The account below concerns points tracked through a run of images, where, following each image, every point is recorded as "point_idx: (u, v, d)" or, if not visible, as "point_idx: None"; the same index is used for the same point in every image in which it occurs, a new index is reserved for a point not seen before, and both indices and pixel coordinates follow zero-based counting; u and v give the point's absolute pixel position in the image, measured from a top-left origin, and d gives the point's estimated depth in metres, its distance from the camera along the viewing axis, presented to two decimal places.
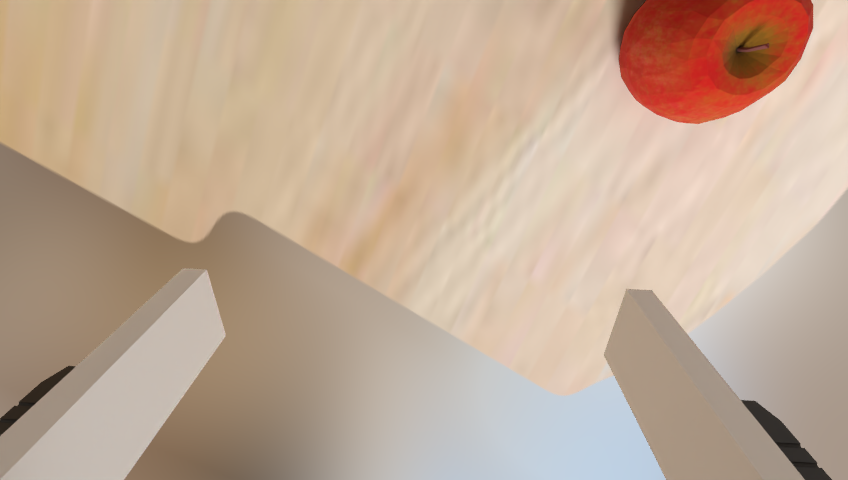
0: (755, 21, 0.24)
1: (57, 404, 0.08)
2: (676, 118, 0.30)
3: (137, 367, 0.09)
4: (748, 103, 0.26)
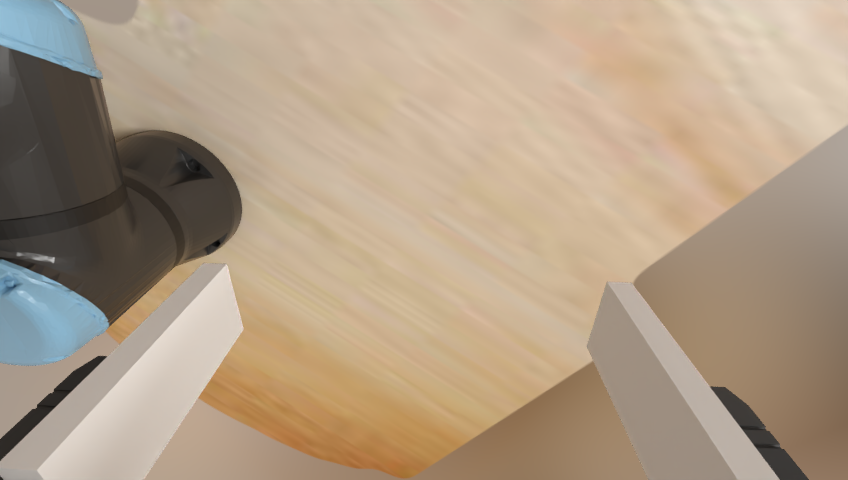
0: None
1: (94, 390, 0.08)
2: None
3: (164, 357, 0.09)
4: None
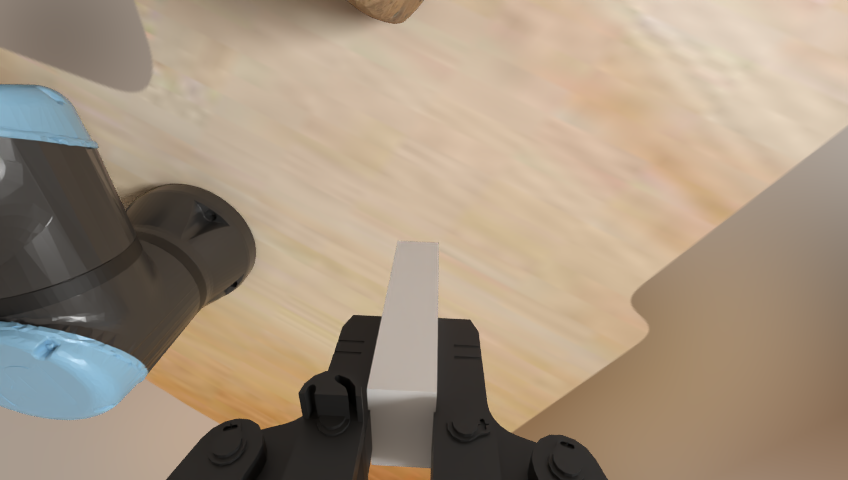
0: None
1: (395, 336, 0.09)
2: None
3: None
4: None
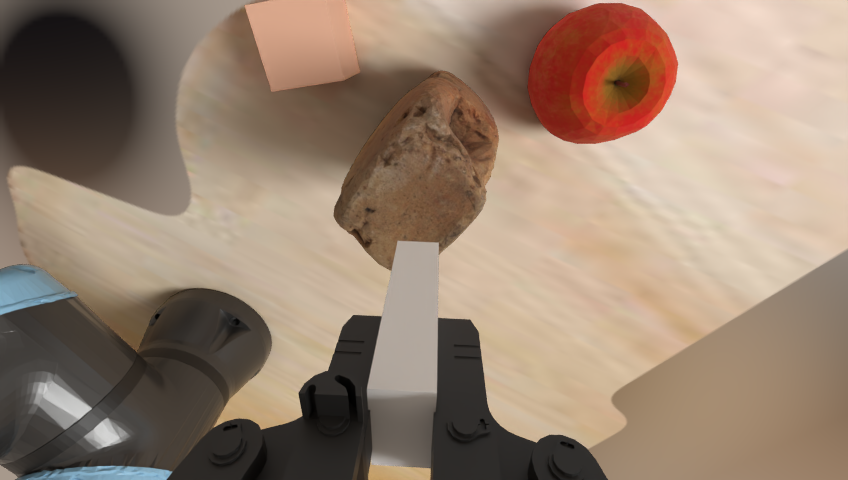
0: (599, 88, 0.27)
1: (395, 336, 0.09)
2: None
3: None
4: (674, 69, 0.27)
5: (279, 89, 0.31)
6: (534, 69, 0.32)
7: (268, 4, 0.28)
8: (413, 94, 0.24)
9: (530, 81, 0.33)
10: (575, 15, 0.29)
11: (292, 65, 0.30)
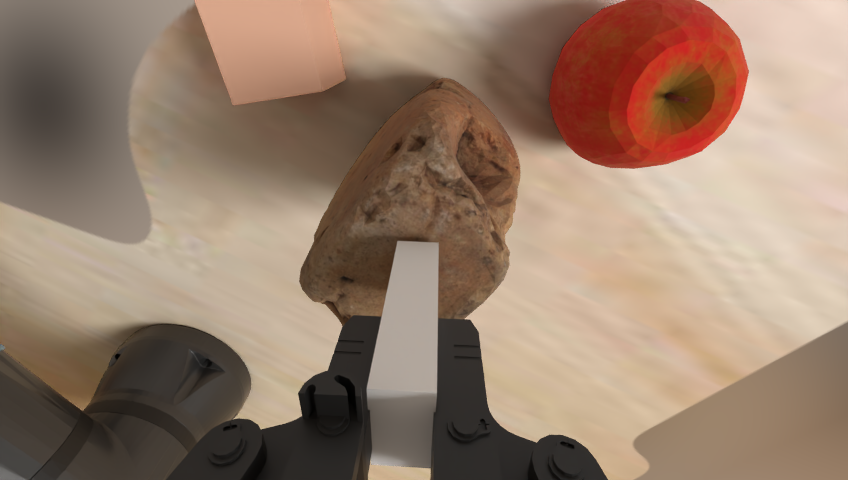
0: (648, 104, 0.21)
1: (394, 336, 0.09)
2: None
3: None
4: (746, 79, 0.21)
5: (242, 102, 0.24)
6: (560, 77, 0.25)
7: None
8: (408, 114, 0.18)
9: (553, 91, 0.27)
10: (614, 10, 0.23)
11: (258, 73, 0.24)
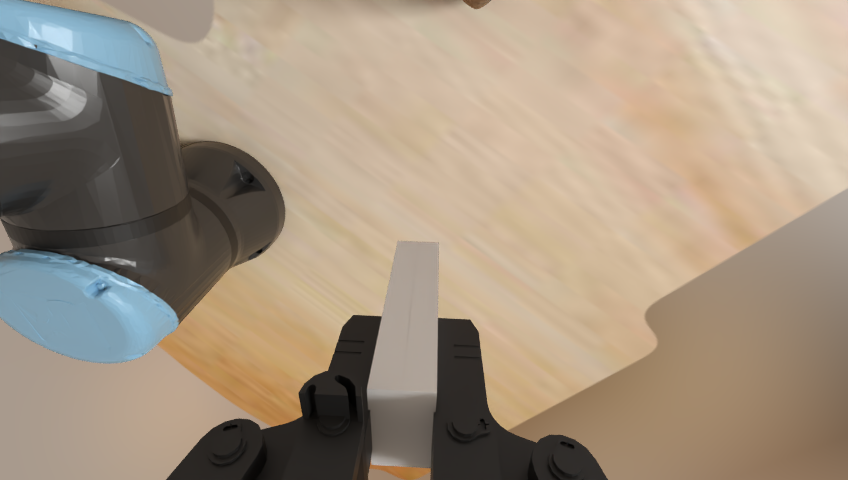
0: None
1: (395, 336, 0.09)
2: None
3: None
4: None
5: None
6: None
7: None
8: None
9: None
10: None
11: None
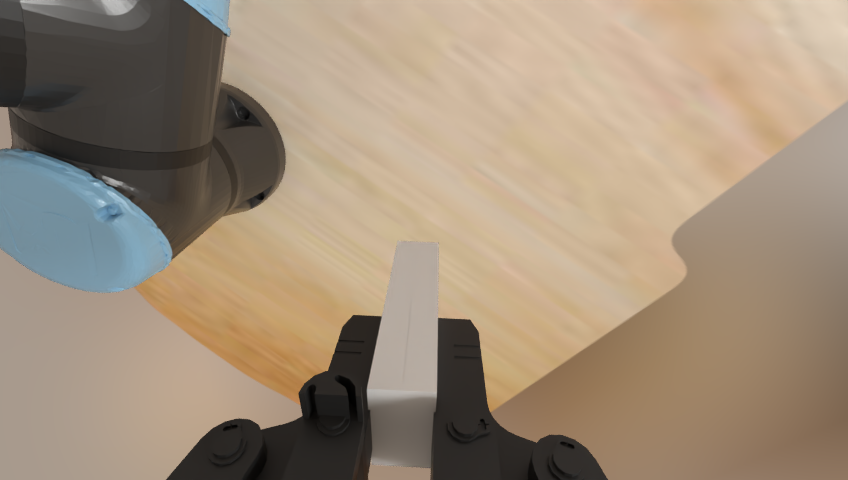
0: None
1: (395, 336, 0.09)
2: None
3: None
4: None
5: None
6: None
7: None
8: None
9: None
10: None
11: None
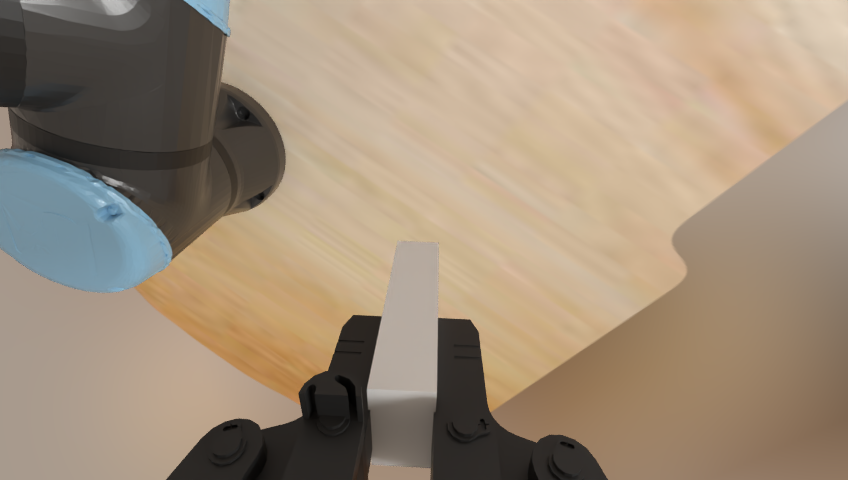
0: None
1: (395, 336, 0.09)
2: None
3: None
4: None
5: None
6: None
7: None
8: None
9: None
10: None
11: None
